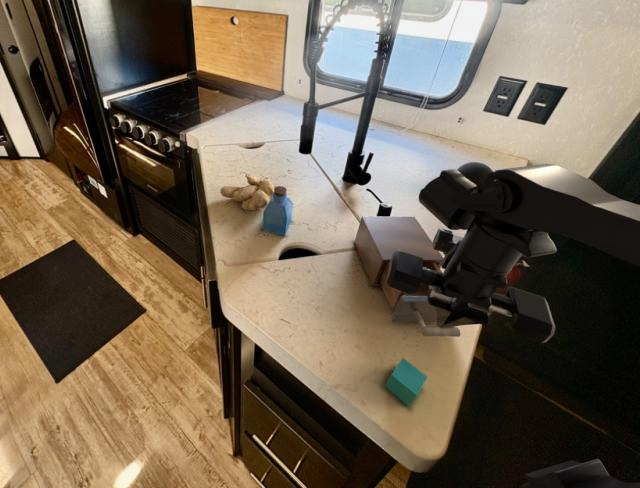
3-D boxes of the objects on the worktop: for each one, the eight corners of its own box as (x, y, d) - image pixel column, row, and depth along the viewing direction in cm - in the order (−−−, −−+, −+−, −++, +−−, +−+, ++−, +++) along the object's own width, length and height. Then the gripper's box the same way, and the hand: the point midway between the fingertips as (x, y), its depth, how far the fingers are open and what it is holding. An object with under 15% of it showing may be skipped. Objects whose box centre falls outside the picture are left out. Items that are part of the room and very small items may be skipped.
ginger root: (294, 199, 92) (291, 179, 86) (253, 230, 86) (247, 210, 81) (260, 177, 102) (255, 158, 97) (221, 204, 97) (215, 185, 91)
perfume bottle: (262, 229, 83) (264, 193, 76) (269, 215, 88) (272, 180, 81) (284, 236, 81) (289, 199, 74) (290, 221, 86) (295, 185, 79)
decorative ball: (484, 205, 91) (500, 177, 86) (445, 193, 96) (459, 166, 91) (486, 190, 98) (502, 162, 92) (450, 179, 103) (463, 152, 97)
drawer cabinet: (429, 286, 68) (444, 259, 63) (372, 286, 68) (382, 259, 63) (403, 242, 79) (414, 216, 74) (354, 241, 79) (361, 216, 74)
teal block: (419, 388, 51) (427, 376, 49) (408, 406, 49) (416, 395, 47) (395, 369, 54) (402, 357, 52) (384, 386, 52) (391, 374, 49)
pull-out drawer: (466, 347, 56) (483, 326, 52) (403, 347, 56) (415, 326, 52) (421, 271, 70) (432, 250, 66) (371, 271, 70) (378, 250, 66)
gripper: (562, 240, 41) (505, 309, 50) (409, 199, 49) (383, 267, 57) (591, 304, 33) (516, 374, 42) (402, 244, 41) (373, 314, 49)
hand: (439, 325), depth 48 cm, fingers closed
